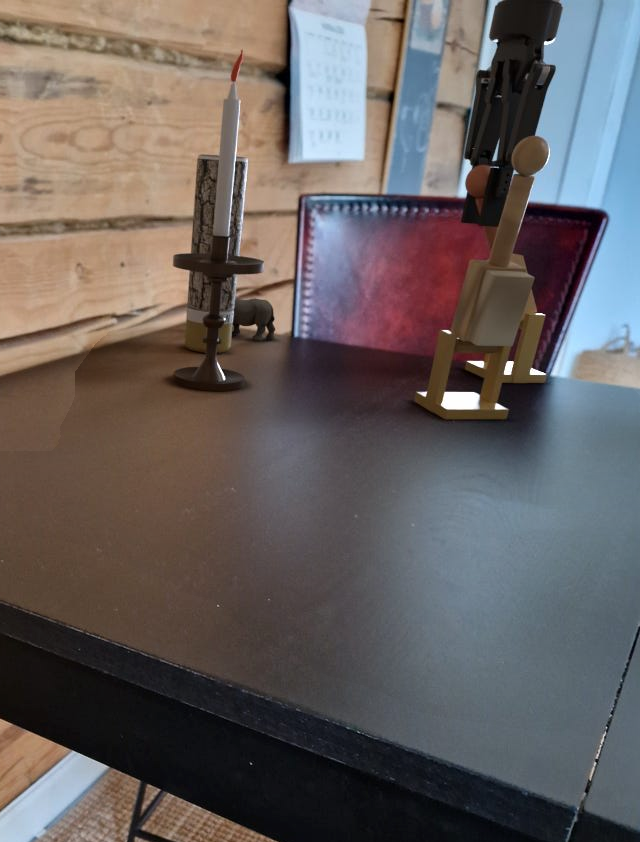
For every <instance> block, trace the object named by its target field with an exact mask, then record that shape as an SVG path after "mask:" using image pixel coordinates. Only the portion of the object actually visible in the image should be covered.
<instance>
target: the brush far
mask: <svg viewBox="0 0 640 842" xmlns="http://www.w3.org/2000/svg"><path fill="white" fill-rule="evenodd" d="M490 168H491V167H489V166H487V165H479V166H476V167H474V168H473V169H472V168H471V169H470V171H469V172H468V174H467V175H466V178H465V182H464V187H465V189H466V193H467V192H468V193H469V194H470V195H472V196H474V197H476V199H475V200H476V204H477V207H478V211H479V215H480V213H481V209H482V204H483V200H484V195H485V191H486V186H487V182H488V177H489V173H490ZM482 229H483V233H484V236H485V237H484V238H485V240H486V243H487V247H488V251H489V255H490V254H491V250H492V247H493V244H494V240H495V237H496V233H497V230H498V227H489V226H482ZM487 260H488V261H489V258H488V259H487ZM510 261H512V262H514V263H516V264H518V265H520V266H522V267H524V268H526V272H525V273H527V274H529V273H528V270H527V266H526V262H525V259H524V255H522V254H518V253H513V252H512V256H511V259H510ZM526 313H531V314H536V313H538V309H537V305H536V302H535V297H534V294H533V289H532V288H531V291H530V294H529V297H528V300H527V303H526V306H525V309H524V313H523V316H522V319H521V322H520V325H519V328H518V329H520V330H522V326H523V323H524V319H525V315H526Z"/></svg>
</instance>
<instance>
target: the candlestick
mask: <svg viewBox="0 0 640 842" xmlns="http://www.w3.org/2000/svg"><path fill="white" fill-rule="evenodd" d="M243 60H244V49H241V50H240V54H239V56H238V58H237V59H236V61H235V62H234V65H233V67H232V70H231V72H230V81H231V84H230V88H229V92H228V94H227V97H226V98H223V100H222V101H223V103H222V105H223V106H222V115H221V128H220V129H221V130H220V140H219V141H220V142H219V151H218V155H219V165H218V177H217V190H216V202H215V215H214V228H213V233H204V234H206V235H209V236H212V242H211V254H206V253H191V252H187V253H186V252H185V253H176V254H173V256H172V267H174V268H176V269H179V270H185V271H189V272H190V271H196V272H201V274H202V275H204V276H205V277H206V280H208V281H210V282H211V293H210V306H209V314H207V315H205V316H204V317H203V319H202V321H203V324H204V326H205V327H207V333H206V338H203V339H202V342H203V343H206V353H204V354H205V357H204V359H203V360H202V362H201V363H200V364H199V366H188V367H180V368H177V369H175V370H174V371H173V374H172V375H173V376H172V381H173V383H175V384H176V385H178V386H180V387H184V388H188V389H192V390H198V391H206V392H207V391H208V392H227V391H228V392H229V391H230V392H231V391H236V390H240V389H242V388H244V386H245V379H246V377H245V375H244V374H243V373H240V372H237V371H235V370H231V369H226V368H221V367H220V364H219V362H218V360H217V353H216V352H217V344H221V343H222V340H221V339H218V338H219V328H222V327H223V325H224V323H225V318H224V317H223V316H222V315H220V305H221V293H222V283H224V282H227V281H228V278H231V277H234V276H235V274H236V275H237V276H239V275H245V276H246V275H259V274H262V273H264V270H265V261H264V260H262V259H259V258H254V257H249V256H242V255H239V256H234V255H228V249H229V238H230V237H236V236H237V235H232V234H229V228H230V216H231V205H232V193H233V182H234V171H235V159H236V157H237V148H238V147H237V146H238V135H239V124H240V112H241V102H242V101H241V99H238V94H237V84H236V83H235V82H237V80H238V76H239V73H240V71H241V65H242V63H243ZM232 82H233V83H232Z"/></svg>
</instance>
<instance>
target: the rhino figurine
mask: <svg viewBox="0 0 640 842" xmlns="http://www.w3.org/2000/svg"><path fill="white" fill-rule="evenodd" d="M274 312H275V311H274V307H273V305H272V304H271V302H269V300H267V299H260V298H250V299H242V298H239V297H237V296H235V305H234V316H233V324H232V335H231V337H233V336H239V335H240V334H241V330H240V327H251V326H254V325H255V326H256V327H257V329H256V332H255V334H254V335H253V336H252V337H251V340H252V341H256V342H258V341H263V339H264V338H263V335H264V334H265V333H266V330H267V332H268V333H267V334H266V336H265V340H267V341H273V340H276V338H275V331H276V327H275V325H274V321H275V315H274Z"/></svg>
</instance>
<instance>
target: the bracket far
mask: <svg viewBox="0 0 640 842" xmlns="http://www.w3.org/2000/svg"><path fill="white" fill-rule="evenodd" d="M545 319H546V314H543V313H534V314H531V313H526V315H525V319H524V323H523V326H522V329H520V330H521V332H520V335H519V338H518V342H517V347H516V351H515V353H514V359H513V361H507V365H506V369H505V373H504V377H503V381H502V384H546V381H547V377H548V374H547V373H544V372H542V371H539V370H538V369H535V368H533V365H534V360H535V357H536V353H537V349H538V346H539V342H540V337H541V334H542V331H543V327H544V322H545ZM489 357H490V354H489V353H484V358H483V360H466V363H465V366H464V370H465V371H467V372H470V373H472V374H474V375H476V376H479V378H480V377H481V378H483V379H484V378H485V373H486V369H487V365H488V361H489Z"/></svg>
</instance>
